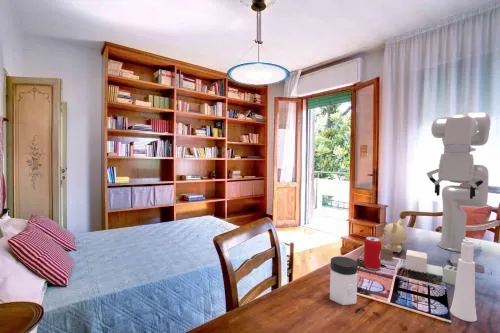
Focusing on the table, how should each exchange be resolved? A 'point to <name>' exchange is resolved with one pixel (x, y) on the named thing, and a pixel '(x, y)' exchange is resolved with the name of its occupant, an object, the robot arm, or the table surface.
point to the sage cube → (449, 274)
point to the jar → (343, 280)
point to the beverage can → (372, 253)
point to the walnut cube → (386, 252)
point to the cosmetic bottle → (465, 285)
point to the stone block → (478, 264)
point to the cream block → (416, 261)
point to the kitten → (395, 235)
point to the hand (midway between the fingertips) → (454, 196)
